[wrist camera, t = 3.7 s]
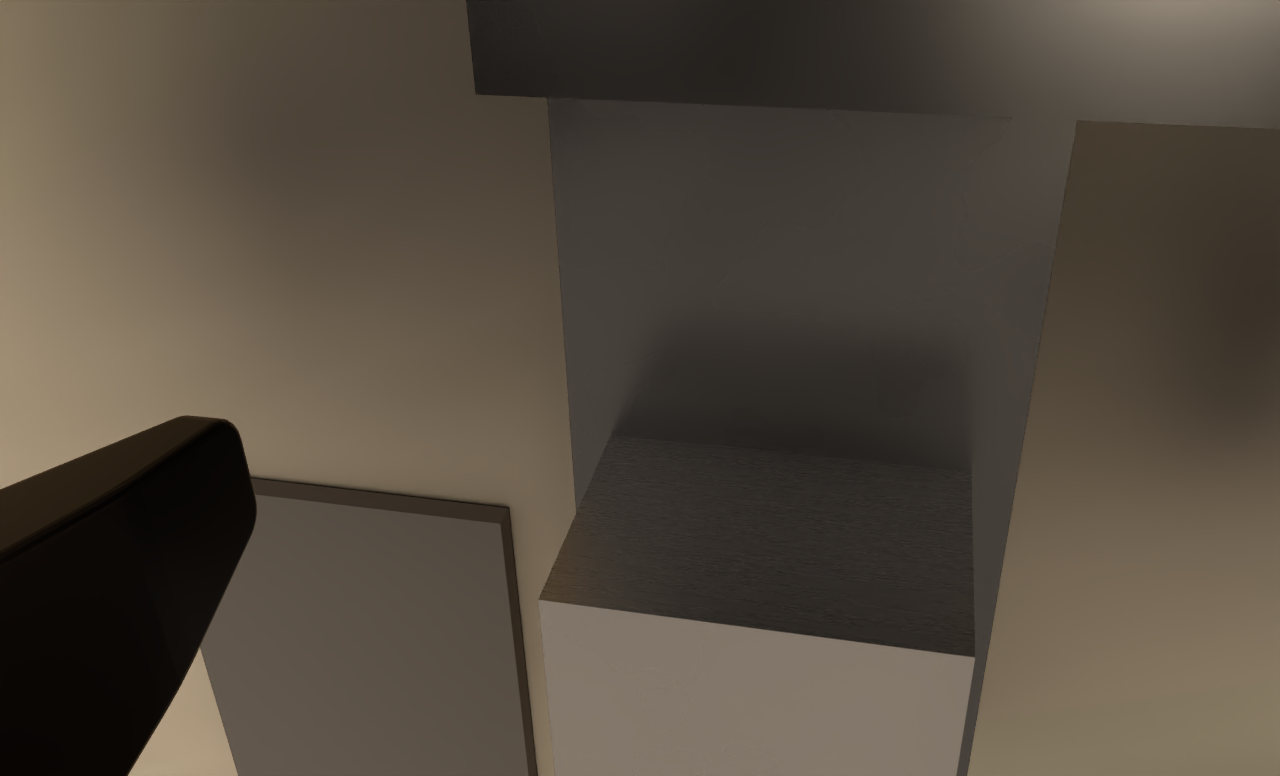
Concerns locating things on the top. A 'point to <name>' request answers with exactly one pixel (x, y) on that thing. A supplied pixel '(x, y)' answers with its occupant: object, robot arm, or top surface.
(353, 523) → the rubber pad
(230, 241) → the top surface
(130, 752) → the robot arm
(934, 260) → the plane body
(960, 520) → the lever cap
